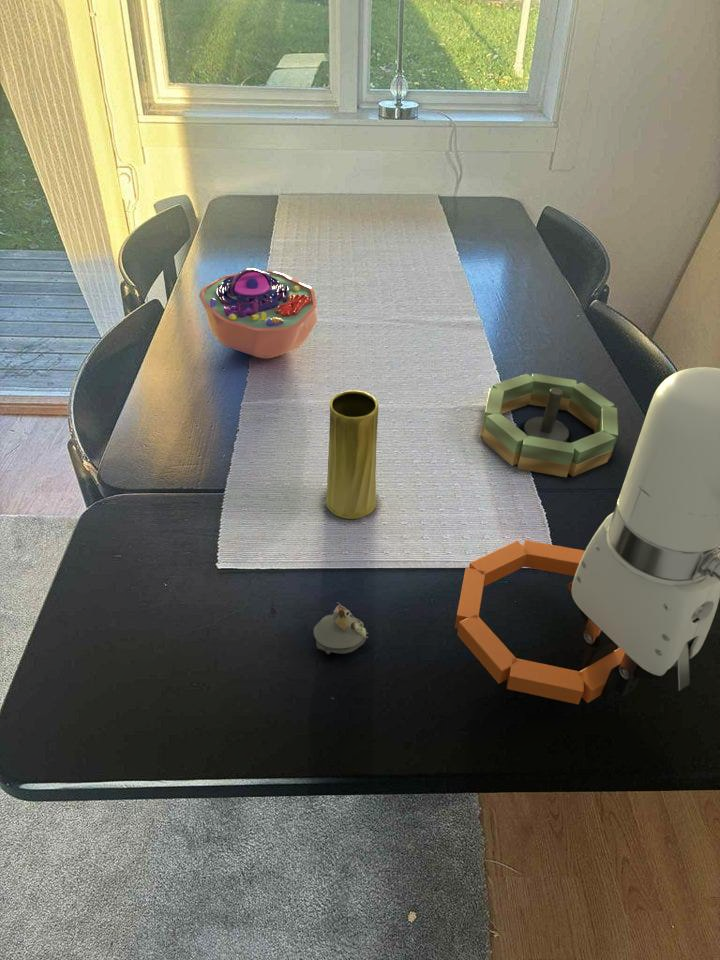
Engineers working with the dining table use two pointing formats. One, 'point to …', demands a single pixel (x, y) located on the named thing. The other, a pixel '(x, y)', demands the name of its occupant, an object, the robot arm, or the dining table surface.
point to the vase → (352, 455)
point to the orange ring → (495, 653)
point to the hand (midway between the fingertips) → (605, 678)
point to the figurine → (339, 632)
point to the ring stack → (549, 425)
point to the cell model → (260, 312)
